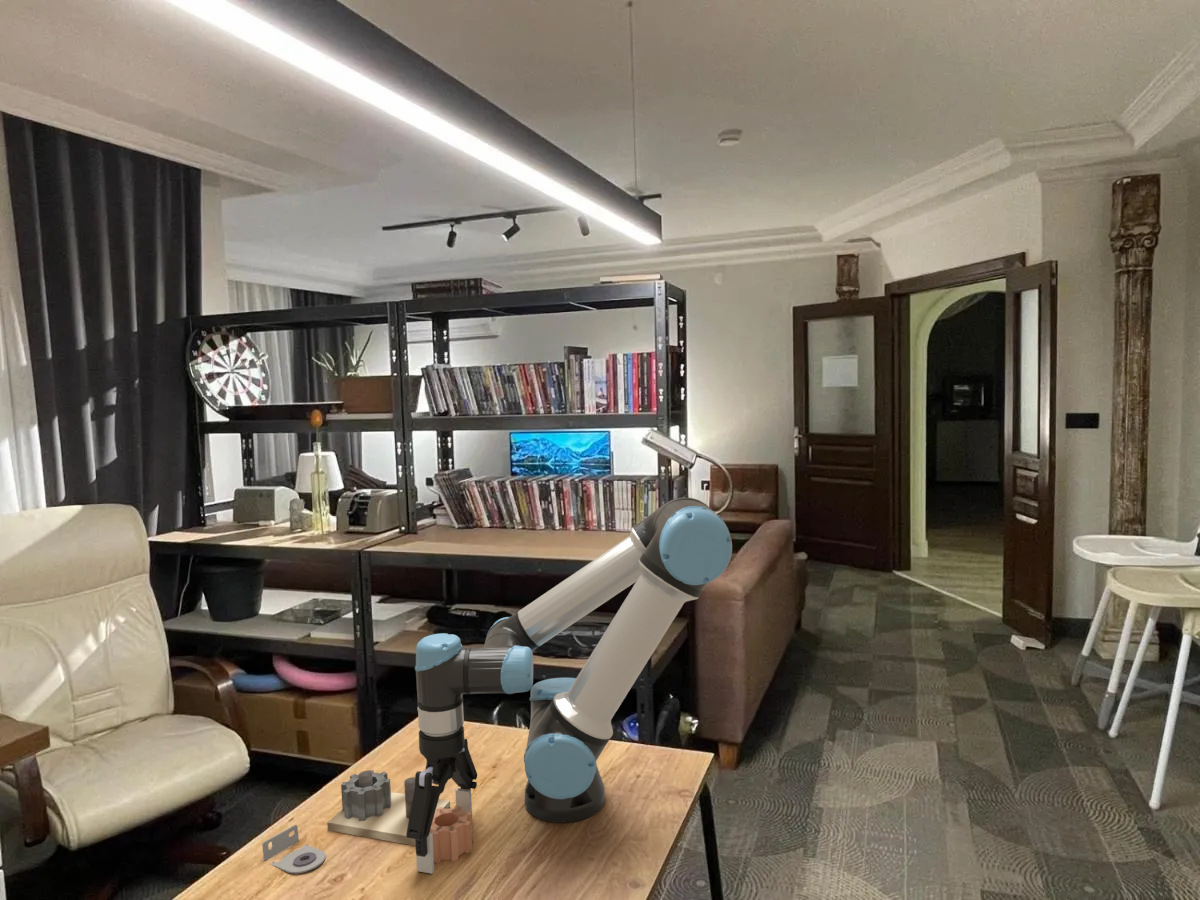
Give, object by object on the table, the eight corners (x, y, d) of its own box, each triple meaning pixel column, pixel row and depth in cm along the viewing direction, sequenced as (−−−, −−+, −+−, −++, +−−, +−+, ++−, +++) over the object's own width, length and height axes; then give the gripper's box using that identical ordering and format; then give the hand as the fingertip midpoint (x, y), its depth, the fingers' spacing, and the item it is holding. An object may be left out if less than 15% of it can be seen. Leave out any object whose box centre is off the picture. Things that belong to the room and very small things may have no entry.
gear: (474, 831, 136) (473, 804, 136) (470, 860, 128) (469, 831, 127) (426, 835, 135) (424, 808, 135) (419, 864, 127) (418, 835, 127)
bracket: (300, 881, 124) (299, 861, 124) (263, 862, 129) (261, 842, 129) (334, 860, 129) (333, 840, 129) (297, 842, 135) (296, 823, 135)
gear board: (450, 808, 144) (448, 767, 143) (416, 845, 132) (414, 801, 132) (367, 795, 149) (364, 756, 148) (327, 830, 138) (325, 787, 137)
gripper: (456, 695, 143) (460, 804, 144) (379, 759, 119) (385, 888, 121) (493, 700, 140) (497, 810, 142) (422, 765, 117) (428, 897, 119)
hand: (446, 847), depth 132 cm, fingers open, 13 cm apart
